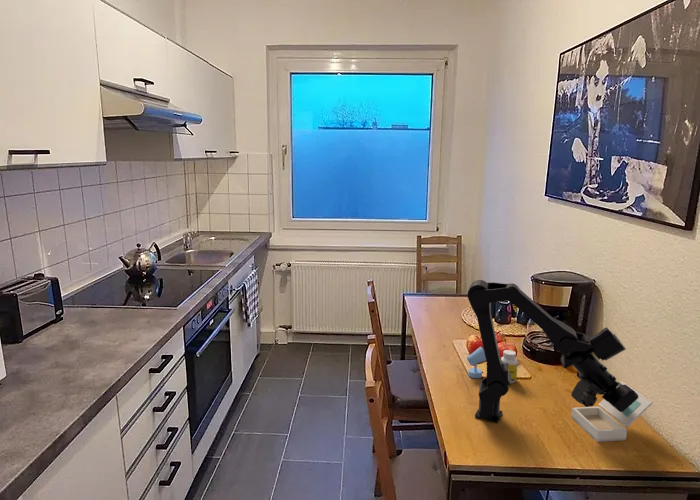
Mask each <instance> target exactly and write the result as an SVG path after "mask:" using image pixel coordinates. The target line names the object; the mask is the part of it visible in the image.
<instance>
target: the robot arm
mask: <svg viewBox="0 0 700 500" xmlns="http://www.w3.org/2000/svg"><path fill="white" fill-rule="evenodd" d="M467 300H468V301H469V304H470V307H471V309H472V311H473V313H474V315H475V316H476V319H477V323H478V329H479V333H480V338H481V342H482V346H483V347H482V348H483V350H484V353H485V357H486V361H485V362H486V377H484V378H483V379H482V380H480V384H479V389H478V397H479V398H478V399H479V400H478V409H477V411H476V413H475V414H474V417H475V418H477V419H481V420H485V421H488V422H493V423H496V424H498V423H499V421H500V419H501V417H502V416H503V411H502V410H501V409H500V406H501V398H502V397H503V396H505V395H506V394H507V393H508V392H509V390H510V388H509V386H511V385H512V383H511V374H510V373H509V370H508V363H505V364H503V362H502V360H501V358H502V357H501V354H500V349H499V346H498V341H497V336H496V331H495V327H494V321H493V317H492V310H491V309H492V307H491V306H492V305H491V304H492V303H500V302H510V303H511V304H513V305H514V306H515V307H516V308H517V309H518V310H520V311H521V312H522V313H523V314H524V315H525V316H526V317H528V318H529V319H530V320H531V321H532V322H533V323H534V324H535V325H536V326H537V327H538V328H540V329H541V330H542V331H543V332H544V334H545V335H546V336H547V337H548V339H549V341H550V342H551V343H552V344H553V346H555V348H556V349H557V351H558V352H560V353H562V354H561V357H560V362H561V364H562V367H563V368H564V369H567V368H569V367H570V366H572V367H574V368H575V370H576V371H577V372H576V377H577V378H578V379H579V381H578V382H577V383H576V385H575V386H574V387H573V389H572V392H571V394H570V395H571V397H572V398H573V399H574V400H575V401H576V402H577V403H579V404H581V405H583V407H594V406H595V404H596V402H597V401H598V397H597V395H599V396H601V398H602V400H603V399H605V400H606V401H607V402H609V403H610V404H611V405H612V406H613V407H614V408H615V409H617V410H618V411H619V412H623V411H624V410H625V409H626V408H628V407H629V406H630V405H631V404H632V403H633V402H634V401H636V400H637V399H638V394H637V393H636V392H635V391H636V390H635V389H634V390H635V391H634V390H632V389H633V388H632V387H631V386H630V387H631V388H632V389H631V388H630V387H628V386H629V385H628V384H627V385H628V386H627V385H622V384H621V382H619V381H617V377H615V376H614V375H613V374H611V373H610V372H609V371H608V368H607V367H606V365H604V363H601V362H600V361H599V360H601V361H608V360H610V359H611V358H613V357H615V356H617V355H618V354H620V353H622V352H624V351H626V350H627V349H626V346H625V345H624V344H623V343H622V342H621V340H620V339H619V338H618V336H617V335H616V334H614V333H613V331H611V330H610V329H609V328H608V327H607V326H606V327H604V328H603V329H601V330H600V331H599V332H597V333H595V334H594V335H592V336H590V335H588V334H585V333H583V332H582V333H581V332H578V331H575V329H574V328H572V327H571V326H570V325H567V324H566V323H565V322H563V321H561V320H558V319H556V318H554V316H551V315H550V314H549V313H548V312H547V311H546V310H544V309H543V308H542V307H541V306H540V305H539V304H538V303H536V302H535V301H534V300H533V299H532V298H531V297H529V295H527V294H526V293H525V292H524V291H523V290H521V288H520V287H519V286H518V285H517V284H516V283H504V282H503V283H501V282H495V281H494V282H487V281H485V280H483V279H477V280H474V281H473V282H472V283H471V284H470V286H469V288H468V291H467ZM593 354H594V355H593ZM595 356H596V357H595Z"/></svg>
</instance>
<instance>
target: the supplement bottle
mask: <svg viewBox="0 0 700 500" xmlns="http://www.w3.org/2000/svg"><path fill="white" fill-rule="evenodd" d="M502 355H503V356H501V357H500V358H501V360H502V362H503V364H505V363H508V370H509V373H510V374H511V384H512V383H513V384H514V383H515V382H516V381H517V375H518V362H519V361H518V359H517V353H516V351H514V350H512V349H505V350H503V352H502Z"/></svg>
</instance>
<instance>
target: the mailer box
mask: <svg viewBox="0 0 700 500" xmlns="http://www.w3.org/2000/svg"><path fill="white" fill-rule="evenodd" d="M571 418H572V420H573V421H575V423H577V424H578V425H579V426H580V427H581V428H582V429H583V430H584V431H585V433H586V434H588V435H589V436H590V437H591V438H592V439H594V441H595V442H596V443H597V442H598V443H600V442H601V443H602V442H616V441H617V442H618V441H626V440H627V433H628V428H626V427H625V426H624V425H623V424H621V423H620V422H619V421H618V420H617V419H615V418H614V417H613V416H612V415H611V414H609V413H608V412H607V411H606V410H605V409H603V408H602V407H601V406H600V405H599V406H592V407H591V406H590V407H585V406H582V407H581V406H579V407H572V408H571Z"/></svg>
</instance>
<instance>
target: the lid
mask: <svg viewBox="0 0 700 500" xmlns="http://www.w3.org/2000/svg"><path fill="white" fill-rule="evenodd" d="M620 383H621V384H622V385H627V386H628V387H630V388H631V389H632V390H634V391H635V392H636V393H637V394H638V399H637V400H636V401H634V402H633V403H632V404H631V405H630V406H629V407H628V408H626V409H625V410H624V411H623V412H619V411H618V410H617V409H615V408H614V407H613V406H612V405H611V404H610V403H609V402H607V401H606V400H605V399H603V398H602V400H601V401H600V402H599V403H598V405H599V407H600V408H602V409H603V410H604V411H605V412H606V413H608V414H609V415H610V416H611V417H612V418H614V419H615V420H616V421H617V422H618V423H619V424H621V425H622V426H623V427H624V428H625V429H628V428H629V427H630V426H631V425H632V424H633V423H634V422H635V421H636V420H637V419H638V418H640V416H641V415H642V414H643V413H644V412H646V411H647V410H648V408H650V407H651V406H652V405H653V403H654V402H653V401H651V400H650V399H648V398H647V397H645V396H644V395H642V394H641V393H640V392H638V391H637V390H635V389H634V388H633V387H631V386H629V385H628V384H627V383H625V382H624V381H621V382H620Z"/></svg>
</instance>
